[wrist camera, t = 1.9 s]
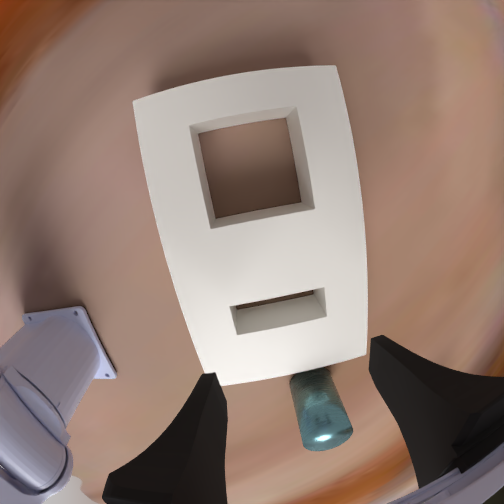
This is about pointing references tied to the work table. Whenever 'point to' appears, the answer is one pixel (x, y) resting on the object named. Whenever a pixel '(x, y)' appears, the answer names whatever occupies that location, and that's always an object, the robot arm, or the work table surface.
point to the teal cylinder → (319, 410)
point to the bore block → (261, 226)
